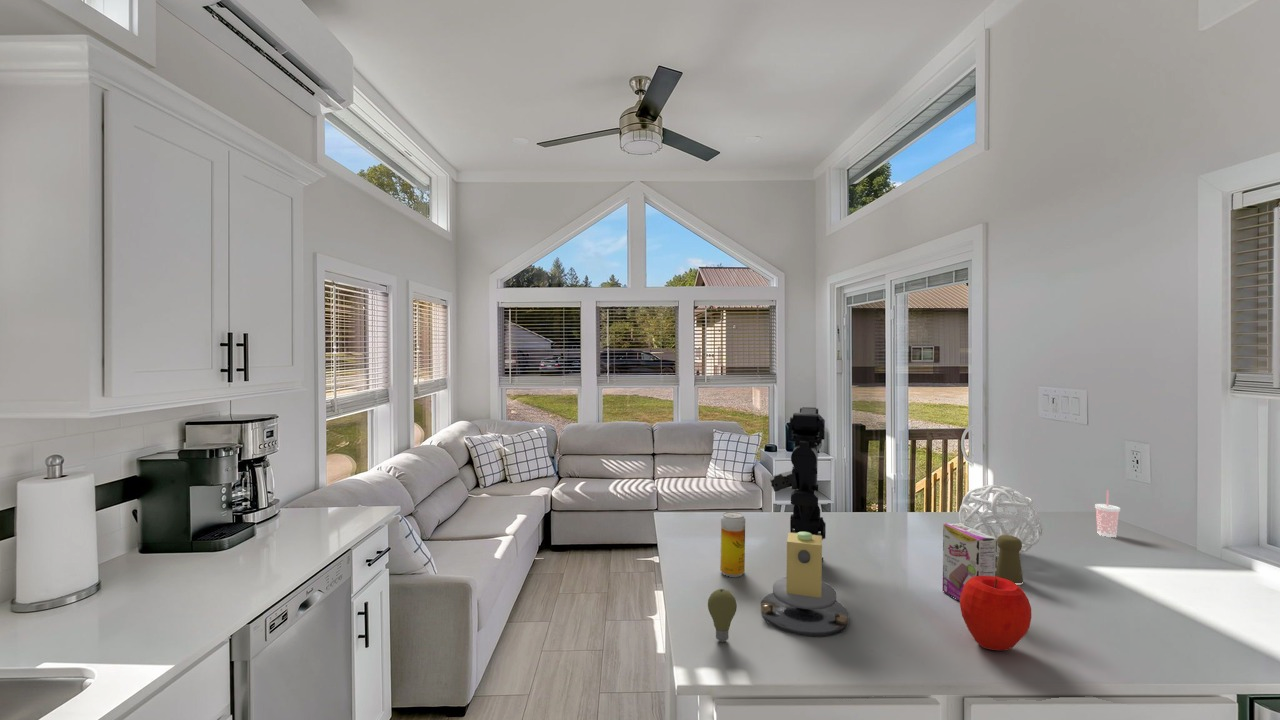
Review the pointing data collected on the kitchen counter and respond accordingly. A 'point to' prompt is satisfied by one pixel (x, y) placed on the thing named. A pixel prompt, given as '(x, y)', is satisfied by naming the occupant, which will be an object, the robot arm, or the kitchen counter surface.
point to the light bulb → (722, 612)
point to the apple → (995, 611)
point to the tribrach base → (804, 618)
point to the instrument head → (804, 574)
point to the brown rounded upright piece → (1009, 558)
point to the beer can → (732, 544)
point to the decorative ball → (1020, 505)
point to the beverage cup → (1107, 518)
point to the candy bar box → (966, 556)
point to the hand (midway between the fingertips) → (804, 525)
